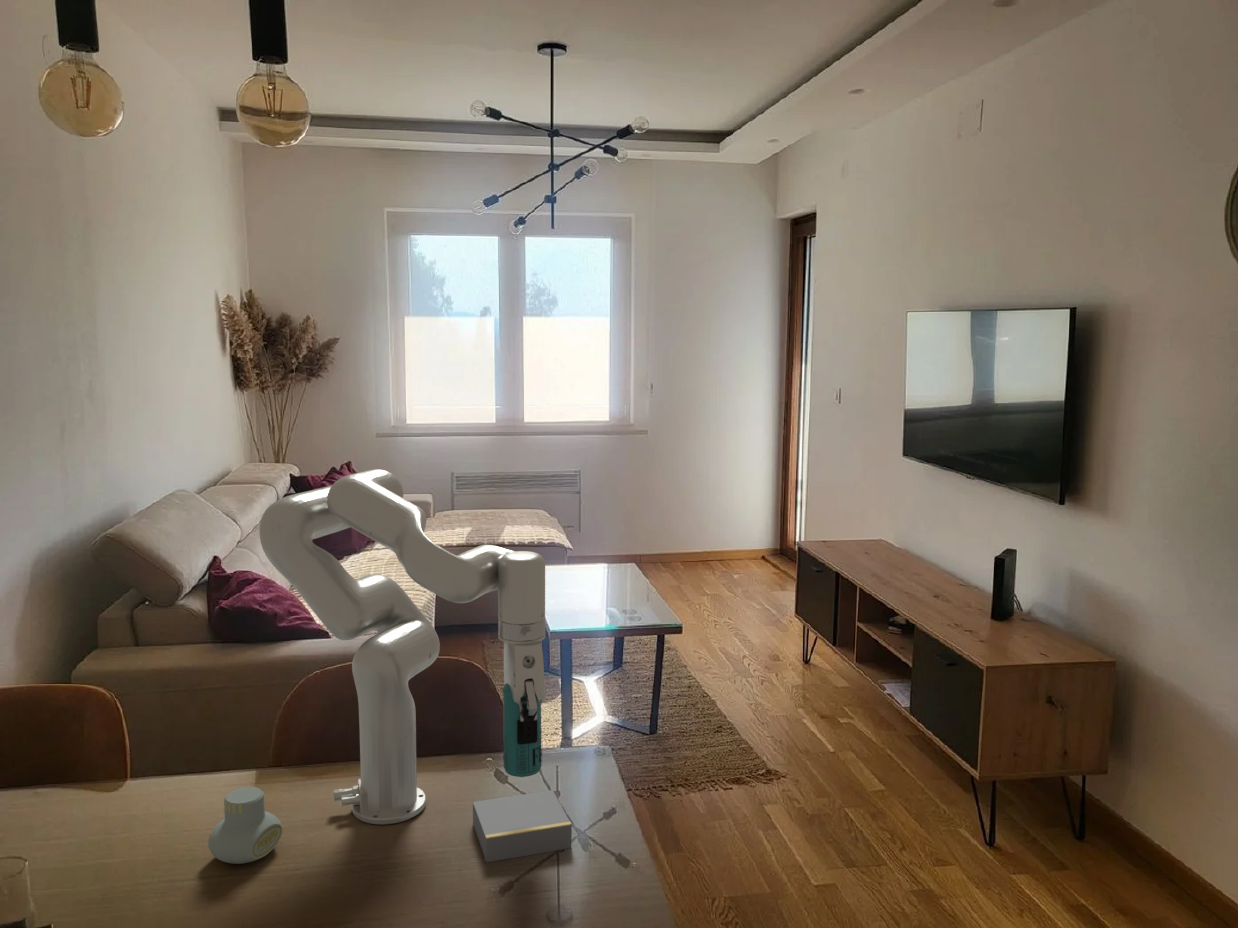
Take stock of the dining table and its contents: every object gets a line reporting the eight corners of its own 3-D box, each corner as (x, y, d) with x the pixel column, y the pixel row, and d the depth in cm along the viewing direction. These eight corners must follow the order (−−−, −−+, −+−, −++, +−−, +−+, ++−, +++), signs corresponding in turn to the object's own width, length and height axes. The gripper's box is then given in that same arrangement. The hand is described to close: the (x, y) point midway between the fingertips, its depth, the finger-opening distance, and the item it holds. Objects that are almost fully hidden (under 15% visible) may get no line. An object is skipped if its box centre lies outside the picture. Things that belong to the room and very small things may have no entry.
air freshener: (243, 877, 140) (241, 816, 139) (200, 866, 143) (197, 806, 141) (290, 840, 150) (288, 783, 149) (249, 831, 153) (246, 774, 151)
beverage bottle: (536, 788, 148) (536, 669, 145) (496, 783, 149) (496, 666, 146) (547, 769, 154) (547, 655, 151) (509, 765, 155) (509, 652, 152)
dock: (486, 862, 145) (486, 837, 144) (473, 823, 156) (472, 800, 156) (571, 847, 150) (571, 823, 149) (552, 811, 161) (552, 788, 160)
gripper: (558, 643, 141) (558, 753, 143) (531, 611, 157) (531, 710, 160) (510, 648, 139) (510, 760, 141) (488, 614, 155) (489, 715, 157)
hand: (522, 732), depth 150 cm, fingers closed on beverage bottle, 6 cm apart
